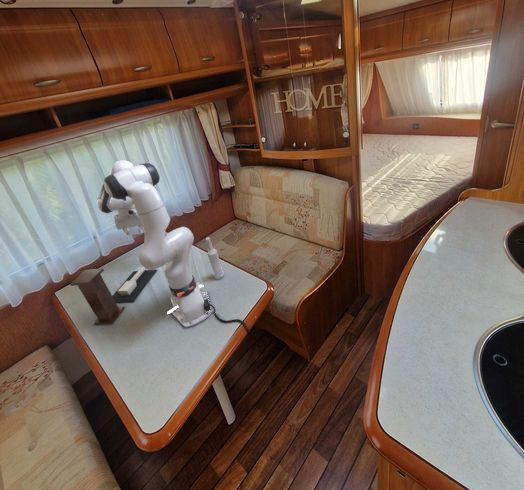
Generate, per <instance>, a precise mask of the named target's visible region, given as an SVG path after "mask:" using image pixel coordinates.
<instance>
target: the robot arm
mask: <svg viewBox="0 0 524 490" xmlns="http://www.w3.org/2000/svg"><path fill="white" fill-rule="evenodd" d="M160 178H161V177H160V173H159V171H158V169H157V167H156V166H155V165H154V164H152V163H149V162H144V163H139V164H138V165H134V164H133V163H132V162H131V161H129V160H126V159H119V160H117V161H115V162H114V163H113V164H112V166H111V168H110V172H109V175H107V176H106V177H105V178H104V180H103V184H102V186H101V188H100V193H99V196H98V197H97V200H96V205H97V207H98V209H99V211H100V212H102V213H103V214H110V213H113V212H115V211H117V213H115V214H114V216H113V219H114V224H115V228H116V229H117V230H119V231H120V230H122V231H123V232H124V233H125V234H126V236H130V235H131V231H129V228H134V227H138V228H139V229H137V230H138V233H139V234H142V233H144V241H143V245H142V248H141V250H140V252H139V256H138V259H139V262H140V265H141V267H142V266H143V267H144V268H146V269H145V270H157V269H159V268H162V267H164V266H165V265H166V267H165V269H164V276H165V278H166V281H167V284H168V288H169V292H171V294H170V296H169V299H170V302H171V304H172V307H173V308H171V309H170V310H168V311H167V312H166V313H167V315H169V314H171V315H172V316H173V317H174V318H175V319H176V320H177V321H178V322H179V323H180V324H181V325H182V327H183V328H185V329H186V328H187V329H188V328H191V327H194V326H196V325H198V324H200V323H201V322H203V321H205V320H206V319H207V318H209V317H210V316H211V315H212V313H213V314H214V313H215V312H217V311H216V308H215V306H214V305H213V304H212V303H211V300H210V297H209V294H208V292H207V291H203V290H204V289H203V288H204V285H203V284H200V282H198V281H196V278H195V276H194V274H193V273H192V271H191V267H190V263H189V262H190V261H189V259H190V258H189V257H190V256H189V255H190V251H191V248H192V246H193V244H194V241H195V237H194V234H193V232H192V231H191V229H190V228H188V227H186V226H180V227H177V228H175V229H173V230H171V231H169V232H167V233H166V230H167V228H168V227H169V225H170V223H171V220H170V219H171V218H170V215H169V213H168V211H167V208H166V206H165V203H164V202H163V201H164V200H162V198H161V195H160V194H159V192H158V191H157V189H156V187H155V186H157V185H158V184H159V183H160V180H161V179H160ZM207 294H208V295H207ZM207 296H208V297H207ZM206 298H209V299H206ZM208 300H209V301H210V303H209V301H208ZM210 306H211V308H212V311H211V312H210V314H209V313H208V312H207V311H209V310H211V309H210ZM206 312H207V313H206ZM205 313H206V314H205ZM208 314H209V315H208ZM214 316H215V317H216V319H217V320H218V321H220V322H222V323H232V322H239V323H241V324H242V325H243V326H244V328H245V329H246V331H247V332H248V333H251V330H250V329H249V327H248V326H247V324H246V323H245V321H243V320H242V319H239V318H236V319H235V318H234V319H230V320H225V319H221V318H220V317H219V316H218V315H217V313H215V314H214ZM265 380H266V385H267V388H268V392H269V394H270V396H272V395H273V392H272V389H271V385H270V383H269V379H268V377H266V378H265Z"/></svg>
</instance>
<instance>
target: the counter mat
mask: <svg viewBox="0 0 524 490" xmlns="http://www.w3.org/2000/svg"><path fill="white" fill-rule="evenodd" d="M138 271H139V270H133V271H132V273H131V274H130V275H128V277H127V278H126V279H125V280H124V282H123V283H122V284H121V285H120V286H119V287H118V288H117V290H116V291H115V292H114V294H113V295H112V297H113V299H114V300H115V302H116V304H124V303H134V302H135V300H136V299H137V298H138V296H139V295H140V294H141V292H143V290H144V289H145V287H146V286H147V284H148V283H149V282H150V280H151V279H152V278H153V277H154V275H155V274H156V272H157V269H155V270H148V269H145V271H144V272H143V273H142V274H141V275H140V277H139V278H138V279H137V280H136V283H137V284H136V285H137V286H136V287H135V289H134V290H133V291H132V292H131V294H130V295H121V294H119V293H118V290H119V289H120V288H121V287H122V286H123V285H124V283H125V282H126V281H130V280H131V279H132V278H133V276H134V275H135V274H136V273H137V272H138Z"/></svg>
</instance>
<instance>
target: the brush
mask: <svg viewBox="0 0 524 490" xmlns="http://www.w3.org/2000/svg"><path fill="white" fill-rule="evenodd" d="M145 270H147V269H146V268H144V267H143V266H142V265H141V266H140V268H139V269H138V270H137V271H138V272H137V273H136V274H135V275H134V276H133V278H132V279H131V280H130V281H126V280H125V281H126V282H125V281H124V282H125V283H124V282H123V283H124V285H123V286H122V287H121V288H120V287H119V288H120V289H119V288H118V289H119V290H118V289H117V290H118V293H119V294H121V295H130V294H131V292H132V291H133V290H134V289H135V287H136V286H137V285H136V284H137V283H136V280H137V279H138V278H139V277H140V275H141V274H142V273H143V272H144V271H145Z"/></svg>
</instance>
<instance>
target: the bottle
mask: <svg viewBox="0 0 524 490" xmlns="http://www.w3.org/2000/svg"><path fill="white" fill-rule="evenodd" d="M205 241H206V243H207V247H208V251H207V253H206V255H207V258H208V259H209V263H210V266H211V268H212V272H213V273H214V278H215V277H216V278H215V279H216V280H219V281H220V280H223V278H224V277H225V273H224V271H223V268H222V265H221V260H220V257H219V254H218V250H217V249H215V248H214V247H213V244H212V240H211V238H210V237H208V236H207V237H206V238H205ZM222 276H223V277H222ZM220 277H221V278H220Z"/></svg>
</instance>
